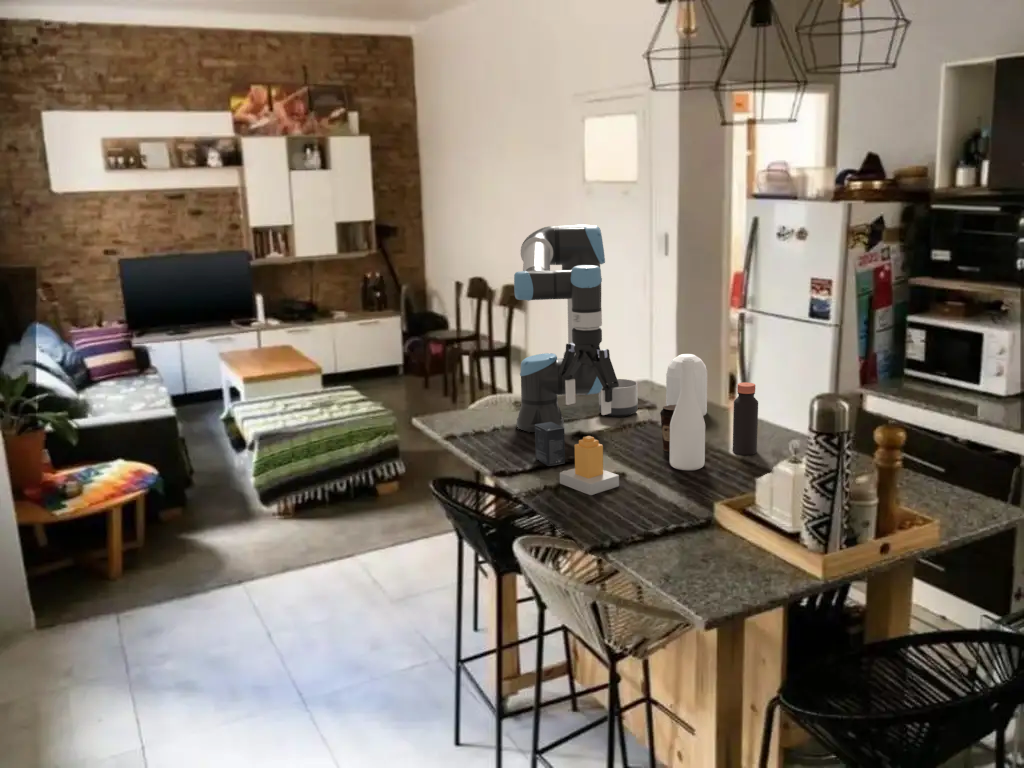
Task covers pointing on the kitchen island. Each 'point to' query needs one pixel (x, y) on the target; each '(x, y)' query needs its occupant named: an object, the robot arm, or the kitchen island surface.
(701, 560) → the kitchen island surface
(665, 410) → the coffee cup
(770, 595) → the kitchen island surface
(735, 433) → the vinegar
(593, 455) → the orange stepped block
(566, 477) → the base with peg
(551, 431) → the box
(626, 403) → the planter
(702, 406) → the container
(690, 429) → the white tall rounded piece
